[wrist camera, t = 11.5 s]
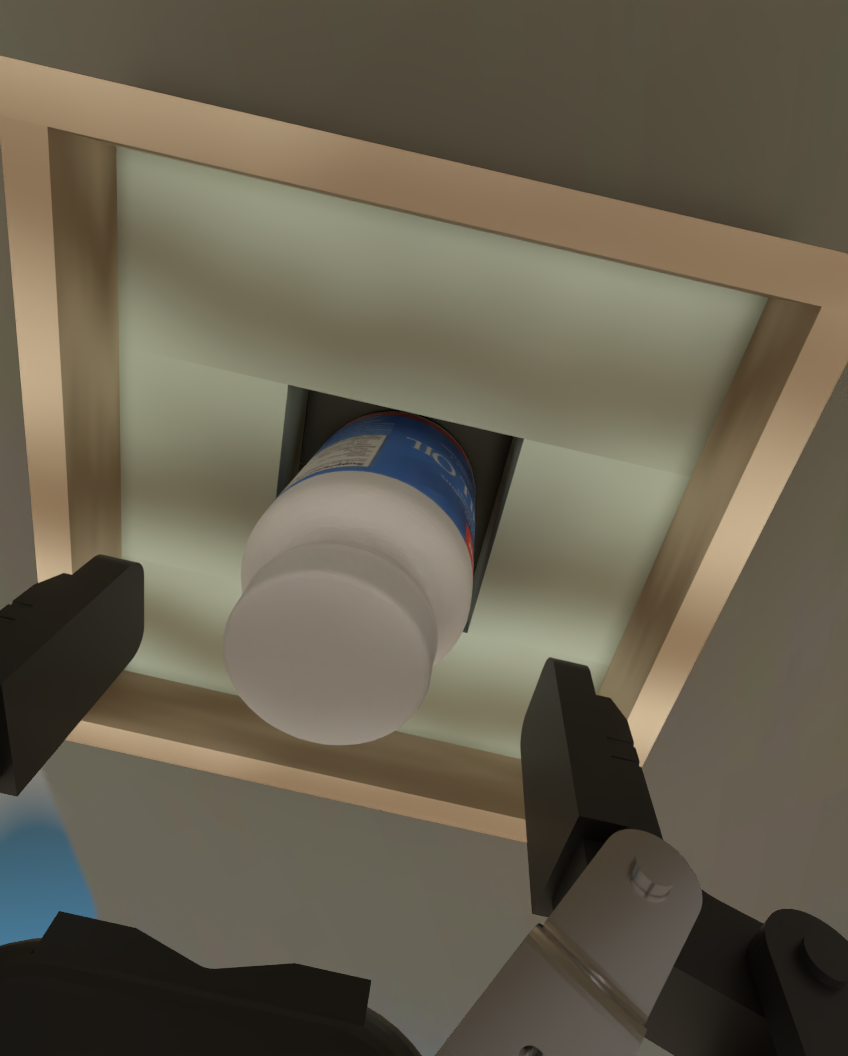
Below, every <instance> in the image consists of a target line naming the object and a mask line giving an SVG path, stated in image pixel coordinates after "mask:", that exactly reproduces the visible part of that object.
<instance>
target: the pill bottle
mask: <svg viewBox="0 0 848 1056" xmlns="http://www.w3.org/2000/svg"><path fill="white" fill-rule="evenodd" d="M475 512H476V486H475V480H474V474H473V471H472V468H471V465H470V462H469V460H468V458H467V456H466V454H465V452H464V451H463V449H462V448H461V446H460V445H459V444H458V442H457V441H456V440H455V439H454V438H453V437H452V436H451V435H450V434H449V433H448V432H447V431H446V430H444V429H443V428H442V427H440V426H439V425H437V424H436V423H434V422H432V421H430V420H428V419H426V418H423V417H420V416H418V415H414V414H410V413H405V412H396V411H389V412H378V413H373V414H369V415H365V416H362V417H359V418H357V419H355V420H353V421H351V422H349V423H347V424H346V425H344V426H343V427H342V428H340V429H339V430H338V431H336V432H335V433H334V434H333V435H332V436H331V437H330V438H329V439H328V440H327V441H326V442H325V443H324V445H323V446H322V447H321V448H320V449H319V450H318V451H317V453H316V454H315V455H314V456H313V457H312V458H311V459H310V461H309V462H308V463H307V464H306V465H305V466H304V467H303V469H302V470H301V471H300V472H299V473H298V474H297V475H296V477H295V478H294V479H293V480H292V481H291V482H290V483H289V485H288V486H287V487H286V488H285V489H284V490H283V491H282V493H281V494H280V495H279V496H278V497H277V498H276V499H275V500H274V502H273V503H272V504H271V505H270V507H269V508H268V509H267V510H266V512H265V513H264V514H263V515H262V517H261V518H260V519H259V521H258V522H257V524H256V525H255V527H254V529H253V530H252V532H251V534H250V536H249V538H248V541H247V544H246V547H245V550H244V554H243V559H242V566H241V585H242V596H241V597H240V599H239V600H238V602H237V603H236V605H235V606H234V608H233V610H232V612H231V613H230V615H229V618H228V620H227V623H226V627H225V630H224V636H223V658H224V663H225V667H226V670H227V673H228V676H229V678H230V680H231V683H232V684H233V686H234V688H235V689H236V691H237V693H238V694H239V696H240V697H241V699H242V700H243V701H244V702H245V703H246V704H247V706H248V707H249V708H250V709H252V710H253V711H254V712H255V713H256V714H257V715H258V716H259V717H260V718H262V719H263V720H264V721H266V722H267V723H269V724H270V725H272V726H273V727H275V728H277V729H279V730H281V731H283V732H285V733H287V734H289V735H292V736H294V737H296V738H299V739H303V740H306V741H311V742H314V743H319V744H326V745H353V744H361V743H365V742H369V741H374V740H376V739H378V738H381V737H384V736H386V735H388V734H390V733H392V732H393V731H395V730H396V729H398V728H399V727H401V726H402V725H403V724H405V723H406V722H407V721H408V720H409V719H410V718H411V717H412V716H413V715H414V713H415V712H416V711H417V709H418V708H419V707H420V705H421V703H422V702H423V700H424V697H425V695H426V693H427V691H428V687H429V684H430V679H431V673H432V668H433V667H434V666H435V665H437V664H438V663H439V662H440V661H441V660H442V659H443V658H444V657H446V656H447V654H448V653H449V652H450V651H451V650H452V648H453V647H454V645H455V644H456V642H457V641H458V639H459V638H460V636H461V634H462V632H463V630H464V627H465V625H466V622H467V619H468V615H469V611H470V605H471V598H472V589H473V566H474V537H475Z"/></svg>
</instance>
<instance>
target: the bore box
mask: <svg viewBox="0 0 848 1056" xmlns="http://www.w3.org/2000/svg"><path fill="white" fill-rule="evenodd" d="M0 141H1V153H2V164H3V176H4V188H5V200H6V211H7V223H8V235H9V247H10V258H11V270H12V282H13V294H14V305H15V317H16V329H17V341H18V352H19V364H20V376H21V388H22V399H23V411H24V423H25V435H26V447H27V458H28V470H29V482H30V494H31V505H32V517H33V529H34V541H35V552H36V564H37V576H38V583H39V582H42V581H44V580H47V579H49V578H52V577H54V576H57V575H59V574H62V573H67V574H71V575H72V574H73V573H75V572H76V571H77V570H78V569H79V568H81V567H82V566H83V565H84V564H86V563H87V562H88V561H89V560H91V559H92V558H93V557H95V556H96V555H99V554H102V555H107V556H111V557H116V558H120V559H125V560H129V561H133V562H138V563H140V564H141V565H142V566H143V569H144V633H143V638H142V641H141V644H140V647H139V649H138V651H137V653H136V655H135V656H134V658H133V659H132V661H131V662H130V663H129V664H128V665H127V667H126V668H125V669H124V670H123V671H122V672H121V674H120V675H119V676H118V677H117V678H116V680H115V681H114V682H113V683H112V684H111V686H110V687H109V688H108V689H107V690H106V691H105V693H104V694H103V695H102V696H101V697H100V699H99V700H98V701H97V702H96V703H95V705H94V706H93V707H92V708H91V709H90V711H89V712H88V713H87V714H86V715H85V716H84V718H83V719H82V720H81V721H80V722H79V724H78V725H77V726H76V727H75V728H74V730H73V731H72V732H71V733H70V734H69V735H68V737H67V738H66V739H65V740H68V741H73V742H77V743H82V744H86V745H91V746H95V747H99V748H104V749H108V750H113V751H117V752H122V753H126V754H131V755H135V756H140V757H144V758H149V759H153V760H158V761H162V762H167V763H171V764H176V765H180V766H185V767H189V768H194V769H198V770H203V771H207V772H212V773H216V774H221V775H225V776H230V777H234V778H239V779H243V780H248V781H252V782H257V783H261V784H266V785H270V786H275V787H279V788H284V789H288V790H293V791H297V792H302V793H306V794H311V795H315V796H320V797H324V798H329V799H333V800H338V801H342V802H347V803H351V804H356V805H360V806H365V807H369V808H374V809H378V810H383V811H387V812H392V813H396V814H401V815H405V816H409V817H414V818H418V819H423V820H427V821H432V822H436V823H441V824H445V825H450V826H454V827H459V828H463V829H468V830H472V831H477V832H481V833H486V834H490V835H495V836H499V837H504V838H508V839H513V840H517V841H522V842H526V843H527V835H526V821H525V807H524V793H523V779H522V765H521V751H520V740H521V731H522V725H523V721H524V717H525V714H526V712H527V709H528V706H529V704H530V701H531V698H532V696H533V693H534V690H535V688H536V685H537V682H538V680H539V677H540V674H541V672H542V669H543V666H544V664H545V662H546V660H547V659H548V658H549V657H551V658H556V659H560V660H565V661H569V662H573V663H578V664H582V665H587V666H588V667H589V669H590V672H591V676H592V680H593V684H594V688H595V692H596V695H600V696H604V697H609V698H611V699H612V700H613V702H614V703H615V704H616V706H617V707H618V708H619V710H620V711H621V712H622V714H623V715H624V716H625V718H626V719H627V721H628V724H629V728H630V731H631V734H632V738H633V741H634V747H635V748H636V751H637V754H638V758H639V761H640V763H639V766H640V767H641V768H642V766H643V764H644V762H645V760H646V758H647V756H648V754H649V752H650V750H651V748H652V746H653V744H654V742H655V740H656V738H657V736H658V734H659V732H660V730H661V728H662V726H663V724H664V722H665V720H666V718H667V716H668V714H669V712H670V710H671V708H672V706H673V704H674V702H675V701H676V699H677V697H678V695H679V693H680V691H681V689H682V687H683V685H684V683H685V681H686V679H687V677H688V675H689V673H690V671H691V669H692V667H693V665H694V663H695V661H696V659H697V657H698V655H699V653H700V651H701V649H702V647H703V645H704V643H705V641H706V639H707V637H708V636H709V634H710V632H711V630H712V628H713V626H714V624H715V622H716V620H717V618H718V616H719V614H720V612H721V610H722V608H723V606H724V604H725V602H726V600H727V598H728V596H729V594H730V592H731V590H732V588H733V586H734V584H735V582H736V580H737V578H738V576H739V574H740V572H741V570H742V569H743V567H744V565H745V563H746V561H747V559H748V557H749V555H750V553H751V551H752V549H753V547H754V545H755V543H756V541H757V539H758V537H759V535H760V533H761V531H762V529H763V527H764V525H765V523H766V521H767V519H768V517H769V515H770V513H771V511H772V509H773V507H774V505H775V504H776V502H777V500H778V498H779V496H780V494H781V492H782V490H783V488H784V486H785V484H786V482H787V480H788V478H789V476H790V474H791V472H792V470H793V468H794V466H795V464H796V462H797V460H798V458H799V456H800V454H801V452H802V450H803V448H804V446H805V444H806V442H807V440H808V439H809V437H810V435H811V433H812V431H813V429H814V427H815V425H816V423H817V421H818V419H819V417H820V415H821V413H822V411H823V409H824V407H825V405H826V403H827V401H828V399H829V397H830V395H831V393H832V391H833V389H834V387H835V385H836V383H837V381H838V379H839V377H840V375H841V373H842V372H843V370H844V368H845V366H846V364H847V362H848V254H847V253H842V252H838V251H834V250H830V249H825V248H821V247H817V246H813V245H808V244H804V243H800V242H795V241H791V240H787V239H783V238H778V237H774V236H770V235H765V234H761V233H757V232H753V231H748V230H744V229H740V228H735V227H731V226H727V225H723V224H718V223H714V222H710V221H705V220H701V219H697V218H693V217H688V216H684V215H680V214H675V213H671V212H667V211H663V210H658V209H654V208H650V207H646V206H641V205H637V204H633V203H628V202H624V201H620V200H616V199H611V198H607V197H603V196H598V195H594V194H590V193H586V192H581V191H577V190H573V189H568V188H564V187H560V186H556V185H551V184H547V183H543V182H538V181H534V180H530V179H526V178H521V177H517V176H513V175H508V174H504V173H500V172H496V171H491V170H487V169H483V168H479V167H474V166H470V165H466V164H461V163H457V162H453V161H449V160H444V159H440V158H436V157H431V156H427V155H423V154H419V153H414V152H410V151H406V150H401V149H397V148H393V147H389V146H384V145H380V144H376V143H371V142H367V141H363V140H359V139H354V138H350V137H346V136H342V135H337V134H333V133H329V132H324V131H320V130H316V129H312V128H307V127H303V126H299V125H294V124H290V123H286V122H282V121H277V120H273V119H269V118H264V117H260V116H256V115H252V114H247V113H243V112H239V111H234V110H230V109H226V108H222V107H217V106H213V105H209V104H204V103H200V102H196V101H192V100H187V99H183V98H179V97H175V96H170V95H166V94H162V93H157V92H153V91H149V90H145V89H140V88H136V87H132V86H127V85H123V84H119V83H115V82H110V81H106V80H102V79H97V78H93V77H89V76H85V75H80V74H76V73H72V72H67V71H63V70H59V69H55V68H50V67H46V66H42V65H37V64H33V63H29V62H25V61H20V60H16V59H12V58H8V57H3V56H0ZM309 390H314V391H318V392H322V393H327V394H331V395H336V396H340V397H344V398H349V399H353V400H357V401H362V402H366V403H370V404H375V405H379V406H384V407H388V408H392V409H397V410H401V411H405V412H410V413H414V414H418V415H423V416H427V417H432V418H436V419H440V420H445V421H449V422H453V423H458V424H462V425H466V426H471V427H475V428H480V429H484V430H488V431H493V432H497V433H501V434H506V435H510V436H513V439H512V442H511V446H510V449H509V453H508V456H507V460H506V464H505V467H504V471H503V474H502V478H501V481H500V485H499V488H498V492H497V495H496V499H495V502H494V506H493V509H492V513H491V516H490V520H489V523H488V527H487V531H486V534H485V538H484V541H483V545H482V548H481V552H480V555H479V559H478V562H477V566H476V569H475V573H474V576H473V589H472V598H471V605H470V611H469V615H468V619H467V622H466V625H465V627H464V630H463V632H462V634H461V636H460V638H459V639H458V641H457V642H456V644H455V645H454V647H453V648H452V650H451V651H450V652H449V653H448V654H447V656H446V657H444V658H443V659H442V660H441V661H440V662H439V663H438V664H437V665H435V666H434V667H433V668H432V673H431V679H430V684H429V687H428V691H427V693H426V695H425V697H424V700H423V702H422V703H421V705H420V707H419V708H418V709H417V711H416V712H415V713H414V715H413V716H412V717H411V718H410V719H409V720H408V721H407V722H406V723H405V724H403V725H402V726H401V727H399V728H398V729H396V730H395V731H393V732H392V733H390V734H388V735H386V736H384V737H381V738H378V739H376V740H374V741H369V742H365V743H361V744H353V745H326V744H319V743H314V742H311V741H306V740H303V739H299V738H296V737H294V736H292V735H289V734H287V733H285V732H283V731H281V730H279V729H277V728H275V727H273V726H272V725H270V724H269V723H267V722H266V721H264V720H263V719H262V718H260V717H259V716H258V715H257V714H256V713H255V712H254V711H253V710H252V709H250V708H249V707H248V706H247V704H246V703H245V702H244V701H243V700H242V699H241V697H240V696H239V694H238V693H237V691H236V689H235V688H234V686H233V684H232V683H231V680H230V678H229V676H228V673H227V670H226V667H225V663H224V658H223V636H224V630H225V627H226V623H227V620H228V618H229V615H230V613H231V612H232V610H233V608H234V606H235V605H236V603H237V602H238V600H239V599H240V597H241V596H242V585H241V566H242V559H243V554H244V550H245V547H246V544H247V541H248V538H249V536H250V534H251V532H252V530H253V529H254V527H255V525H256V524H257V522H258V521H259V519H260V518H261V517H262V515H263V514H264V513H265V512H266V510H267V509H268V508H269V507H270V505H271V504H272V503H273V502H274V500H275V499H276V498H277V497H278V496H279V495H280V494H281V493H282V491H283V490H284V489H285V488H286V487H287V486H288V485H289V483H290V482H291V481H292V480H293V479H294V478H295V477H296V475H297V474H298V473H299V466H300V458H301V450H302V442H303V434H304V426H305V418H306V410H307V402H308V394H309Z"/></svg>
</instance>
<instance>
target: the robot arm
mask: <svg viewBox="0 0 848 1056" xmlns="http://www.w3.org/2000/svg"><path fill="white" fill-rule="evenodd" d="M143 633H144V569H143V566H142V565H141V564H140V563H138V562H133V561H129V560H125V559H120V558H116V557H111V556H107V555H102V554H99V555H96V556H95V557H93V558H92V559H91V560H89V561H88V562H87V563H86V564H84V565H83V566H82V567H81V568H79V569H78V570H77V571H76V572H75V573H73V574H72V575H71V574H67V573H62V574H59V575H57V576H54V577H52V578H49V579H47V580H44V581H42V582H39V583H37V584H34V585H33V586H32V587H30V588H29V589H28V590H27V591H25V592H24V593H23V594H21V595H20V596H19V597H17V598H16V599H15V600H13V603H12V605H9V604H8V605H7V606H6V607H4V608H3V609H2V610H0V793H4V794H8V795H13V796H18V795H19V794H20V792H21V791H22V790H23V789H24V788H25V787H26V785H27V784H28V783H29V782H30V781H31V779H32V778H33V777H34V776H35V775H36V774H37V772H38V771H39V770H40V769H41V768H42V766H43V765H44V764H45V763H46V762H47V760H48V759H49V758H50V757H51V756H52V755H53V753H54V752H55V751H56V750H57V749H58V747H59V746H60V745H61V744H62V743H63V741H64V740H65V739H66V738H67V737H68V735H69V734H70V733H71V732H72V731H73V730H74V728H75V727H76V726H77V725H78V724H79V722H80V721H81V720H82V719H83V718H84V716H85V715H86V714H87V713H88V712H89V711H90V709H91V708H92V707H93V706H94V705H95V703H96V702H97V701H98V700H99V699H100V697H101V696H102V695H103V694H104V693H105V691H106V690H107V689H108V688H109V687H110V686H111V684H112V683H113V682H114V681H115V680H116V678H117V677H118V676H119V675H120V674H121V672H122V671H123V670H124V669H125V668H126V667H127V665H128V664H129V663H130V662H131V661H132V659H133V658H134V656H135V655H136V653H137V651H138V649H139V647H140V644H141V641H142V638H143ZM520 751H521V765H522V779H523V793H524V807H525V821H526V835H527V849H528V863H529V877H530V891H531V905H532V914H536V915H540V916H545V917H549V918H548V919H547V920H546V921H545V923H544V924H543V925H541V924H540V923H539V924H537V925H536V926H535V927H534V928H533V929H532V930H531V932H530V933H529V934H528V935H527V936H526V938H525V939H524V940H523V942H522V943H521V944H520V945H519V947H518V948H517V949H516V951H515V952H514V953H513V955H512V956H511V957H510V958H509V960H508V961H507V962H506V964H505V965H504V966H503V968H502V969H501V970H500V971H499V973H498V974H497V975H496V977H495V978H494V979H493V981H492V982H491V983H490V984H489V986H488V987H487V988H486V990H485V991H484V992H483V993H482V995H481V996H480V997H479V999H478V1000H477V1001H476V1003H475V1004H474V1005H473V1006H472V1008H471V1009H470V1010H469V1012H468V1013H467V1014H466V1016H465V1017H464V1018H463V1019H462V1021H461V1022H460V1023H459V1025H458V1026H457V1027H456V1029H455V1030H454V1031H453V1032H452V1034H451V1035H450V1036H449V1038H448V1039H447V1040H446V1042H445V1043H444V1044H443V1045H442V1047H441V1048H440V1049H439V1051H438V1052H437V1053H436V1054H435V1056H636V1054H637V1052H638V1050H639V1048H640V1046H641V1044H642V1041H643V1039H644V1037H645V1038H647V1039H648V1040H650V1041H652V1042H653V1043H655V1044H656V1045H658V1046H660V1047H661V1048H663V1049H665V1050H666V1051H668V1052H670V1053H671V1054H673V1055H674V1056H848V941H847V940H846V939H845V938H844V937H843V936H842V935H840V934H839V933H838V932H837V931H836V930H834V929H833V928H832V927H830V926H829V925H828V924H826V923H825V922H823V921H821V920H820V919H818V918H816V917H814V916H812V915H810V914H808V913H805V912H802V911H799V910H794V909H781V910H777V911H775V912H774V913H772V914H771V915H770V916H769V918H768V919H767V920H766V921H765V923H764V924H763V923H761V922H759V921H757V920H755V919H753V918H751V917H749V916H748V915H746V914H744V913H742V912H740V911H738V910H736V909H734V908H732V907H730V906H729V905H727V904H725V903H723V902H721V901H719V900H717V899H716V898H714V897H712V896H710V895H709V894H707V893H706V892H704V891H703V890H702V889H701V887H700V883H699V881H698V879H697V876H696V874H695V873H694V871H693V869H692V868H691V866H690V865H689V863H688V862H687V861H686V860H685V858H684V857H683V856H682V855H681V854H680V853H679V852H678V851H677V850H676V849H675V848H673V847H672V846H671V845H670V844H668V843H667V842H665V841H664V840H663V838H662V835H661V831H660V828H659V824H658V821H657V818H656V814H655V811H654V808H653V804H652V801H651V798H650V794H649V791H648V788H647V784H646V781H645V778H644V774H643V771H642V768H641V767H640V766H639V763H640V761H639V758H638V754H637V751H636V748H635V747H634V741H633V738H632V734H631V731H630V728H629V724H628V721H627V719H626V718H625V716H624V715H623V714H622V712H621V711H620V710H619V708H618V707H617V706H616V704H615V703H614V702H613V700H612V699H611V698H609V697H604V696H600V695H596V692H595V688H594V684H593V680H592V676H591V672H590V669H589V667H588V666H587V665H582V664H578V663H573V662H569V661H565V660H560V659H556V658H551V657H549V658H548V659H547V660H546V662H545V664H544V666H543V669H542V672H541V674H540V677H539V680H538V682H537V685H536V688H535V690H534V693H533V696H532V698H531V701H530V704H529V706H528V709H527V712H526V714H525V717H524V721H523V725H522V731H521V740H520ZM370 985H371V980H368V979H363V978H359V977H354V976H350V975H345V974H341V973H336V972H332V971H327V970H323V969H318V968H314V967H309V966H305V965H300V964H295V963H293V964H278V965H264V966H250V967H236V968H221V969H209V968H204V967H202V966H200V965H198V964H196V963H194V962H193V961H191V960H189V959H188V958H186V957H184V956H183V955H181V954H179V953H177V952H176V951H174V950H172V949H171V948H169V947H167V946H166V945H164V944H162V943H160V942H159V941H157V940H155V939H154V938H152V937H150V936H148V935H147V934H145V933H143V932H142V931H140V930H138V929H137V928H133V927H128V926H124V925H119V924H115V923H110V922H106V921H101V920H97V919H92V918H88V917H83V916H79V915H74V914H70V913H64V912H60V911H59V912H58V914H57V916H56V917H55V918H54V920H53V922H52V923H51V925H50V926H49V928H48V930H47V931H46V933H45V934H44V936H43V937H42V938H38V939H37V938H36V939H30V940H24V941H19V942H14V943H8V944H5V945H1V946H0V1056H422V1055H421V1054H420V1053H419V1051H418V1050H417V1049H416V1048H415V1046H414V1045H413V1044H412V1043H411V1042H410V1041H409V1040H408V1039H407V1037H406V1036H405V1035H404V1034H403V1033H402V1032H401V1031H400V1030H399V1029H398V1028H397V1027H395V1026H394V1025H393V1024H392V1023H390V1022H389V1021H388V1020H386V1019H385V1018H384V1017H383V1016H381V1015H380V1014H378V1013H376V1012H375V1011H373V1010H371V1009H370V1008H368V1007H367V1004H368V998H369V991H370Z"/></svg>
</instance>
